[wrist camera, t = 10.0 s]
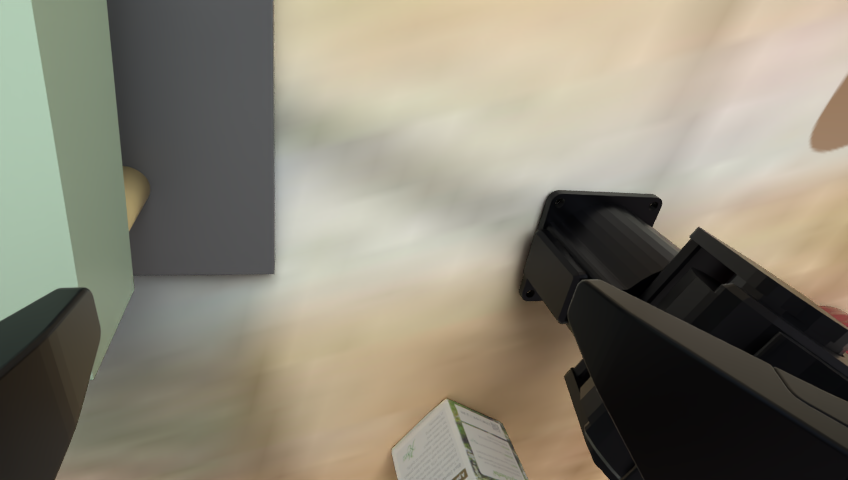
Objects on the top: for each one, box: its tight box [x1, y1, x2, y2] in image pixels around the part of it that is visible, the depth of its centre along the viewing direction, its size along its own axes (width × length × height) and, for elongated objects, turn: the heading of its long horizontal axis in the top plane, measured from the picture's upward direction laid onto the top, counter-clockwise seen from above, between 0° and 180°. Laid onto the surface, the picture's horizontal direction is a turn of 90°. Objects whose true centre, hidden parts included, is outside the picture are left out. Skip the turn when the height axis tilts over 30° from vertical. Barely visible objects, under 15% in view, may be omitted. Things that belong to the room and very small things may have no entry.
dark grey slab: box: [107, 0, 275, 275], centre depth 14 cm, size 14×18×4 cm
